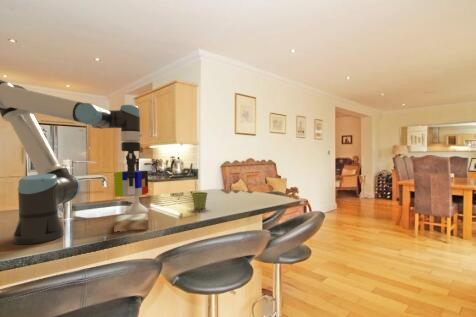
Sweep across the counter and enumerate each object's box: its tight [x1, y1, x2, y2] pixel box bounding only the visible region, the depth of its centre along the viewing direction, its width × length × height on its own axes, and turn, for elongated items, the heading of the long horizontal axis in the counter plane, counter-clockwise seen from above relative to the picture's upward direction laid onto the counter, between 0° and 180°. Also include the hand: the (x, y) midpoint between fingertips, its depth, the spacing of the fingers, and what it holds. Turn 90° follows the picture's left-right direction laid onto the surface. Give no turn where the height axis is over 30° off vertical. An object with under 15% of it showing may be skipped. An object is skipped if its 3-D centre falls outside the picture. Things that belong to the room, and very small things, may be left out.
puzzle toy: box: [114, 170, 149, 198], centre depth 117 cm, size 10×10×10 cm
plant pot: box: [190, 191, 209, 210], centre depth 155 cm, size 9×9×9 cm
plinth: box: [113, 212, 149, 233], centre depth 117 cm, size 13×13×4 cm
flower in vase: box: [124, 196, 149, 215], centre depth 138 cm, size 13×11×25 cm
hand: (131, 192), depth 117 cm, fingers closed on puzzle toy, 12 cm apart
